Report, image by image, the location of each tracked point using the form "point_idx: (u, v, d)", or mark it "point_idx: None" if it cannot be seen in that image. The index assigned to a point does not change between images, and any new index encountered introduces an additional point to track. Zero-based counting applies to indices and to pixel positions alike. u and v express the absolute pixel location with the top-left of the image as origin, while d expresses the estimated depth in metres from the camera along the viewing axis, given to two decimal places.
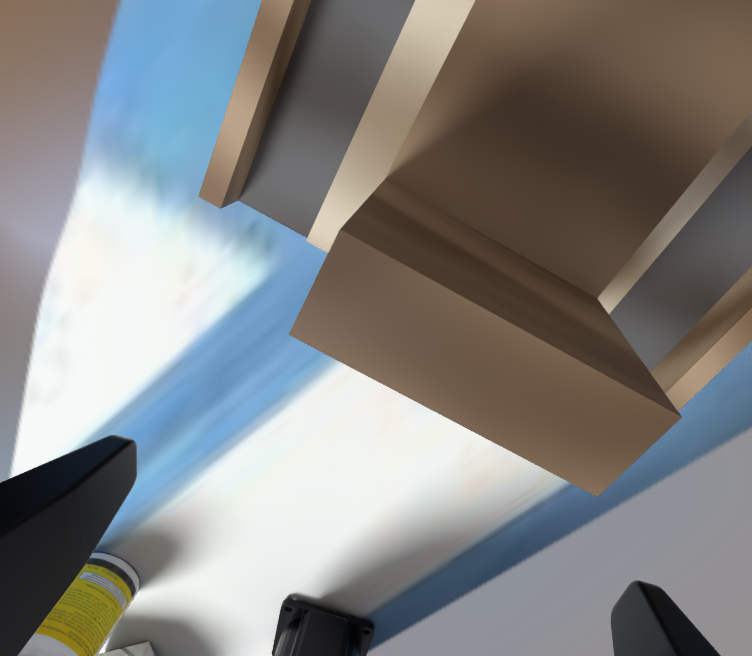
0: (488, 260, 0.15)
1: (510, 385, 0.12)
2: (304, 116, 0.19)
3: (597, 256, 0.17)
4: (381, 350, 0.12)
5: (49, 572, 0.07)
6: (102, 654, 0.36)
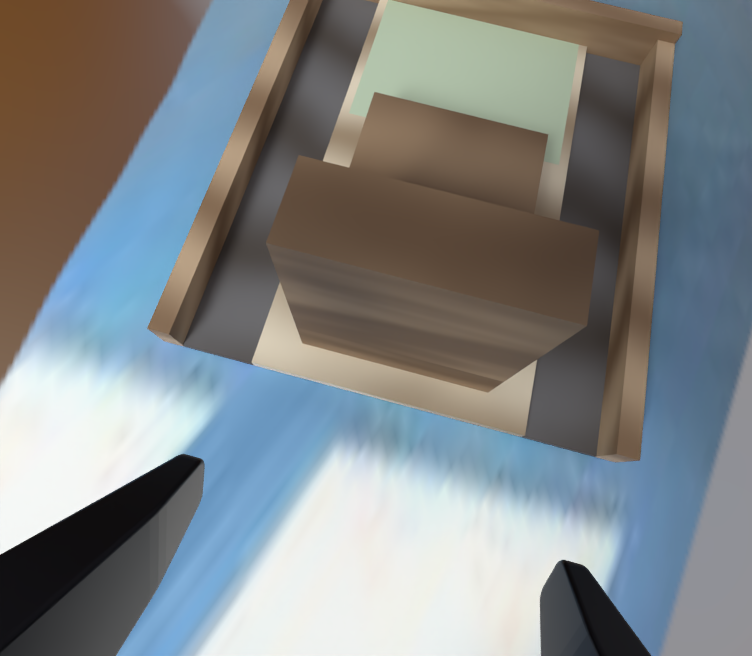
0: None
1: (463, 238, 0.14)
2: (241, 268, 0.24)
3: None
4: (350, 236, 0.13)
5: (131, 596, 0.07)
6: None
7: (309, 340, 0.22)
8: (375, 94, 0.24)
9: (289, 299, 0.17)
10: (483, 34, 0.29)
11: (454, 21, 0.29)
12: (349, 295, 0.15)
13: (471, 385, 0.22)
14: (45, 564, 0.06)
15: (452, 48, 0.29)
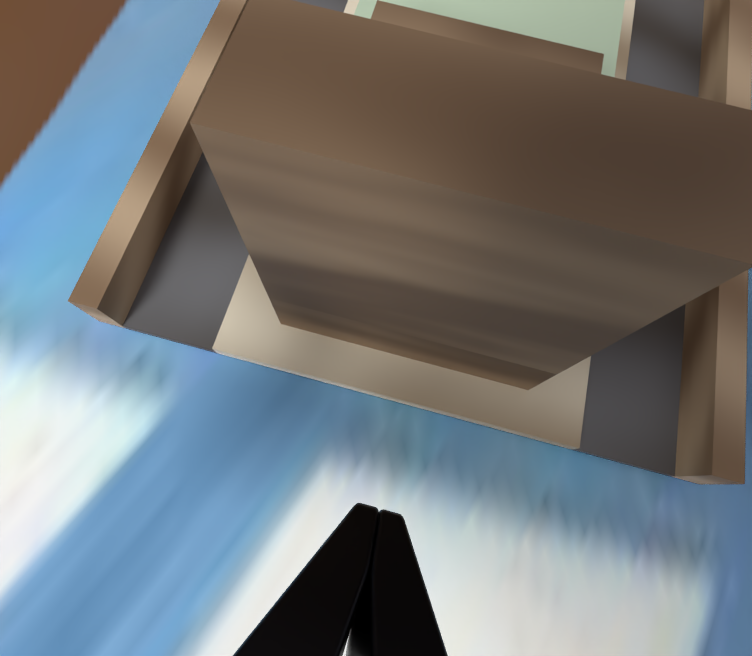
0: None
1: (530, 121, 0.08)
2: (204, 227, 0.19)
3: None
4: (336, 114, 0.08)
5: None
6: None
7: (289, 318, 0.16)
8: (378, 3, 0.19)
9: (251, 247, 0.12)
10: None
11: None
12: (338, 231, 0.10)
13: (507, 380, 0.16)
14: (292, 636, 0.06)
15: None
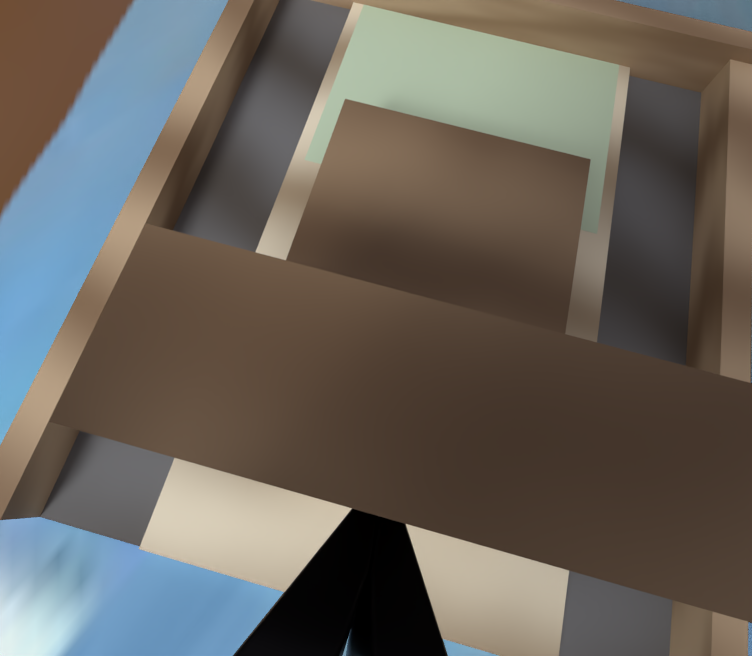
0: None
1: (476, 407, 0.06)
2: None
3: None
4: (234, 403, 0.06)
5: None
6: None
7: None
8: (346, 102, 0.17)
9: None
10: (490, 51, 0.22)
11: (451, 34, 0.22)
12: None
13: None
14: (292, 636, 0.06)
15: (448, 69, 0.21)
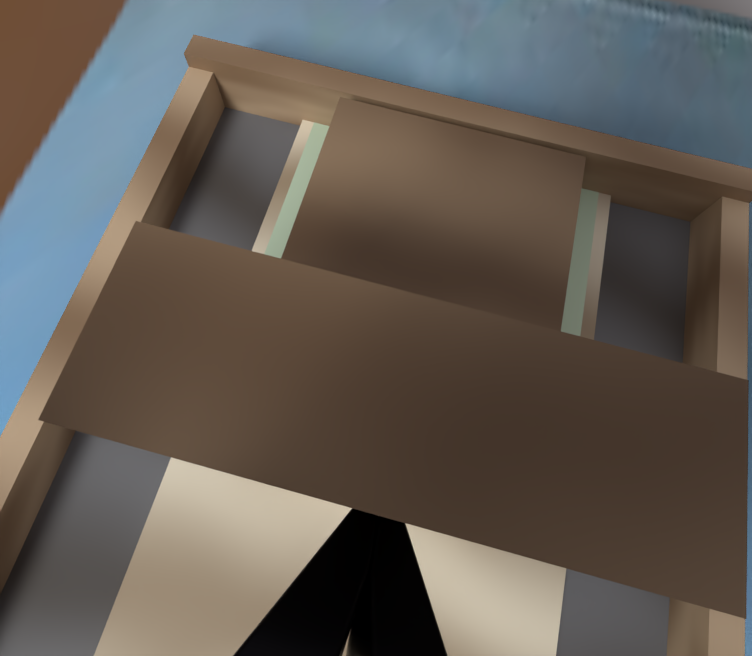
0: None
1: (467, 404, 0.06)
2: (35, 620, 0.14)
3: None
4: (224, 401, 0.06)
5: None
6: None
7: None
8: (341, 100, 0.17)
9: None
10: None
11: None
12: None
13: None
14: (292, 636, 0.06)
15: None
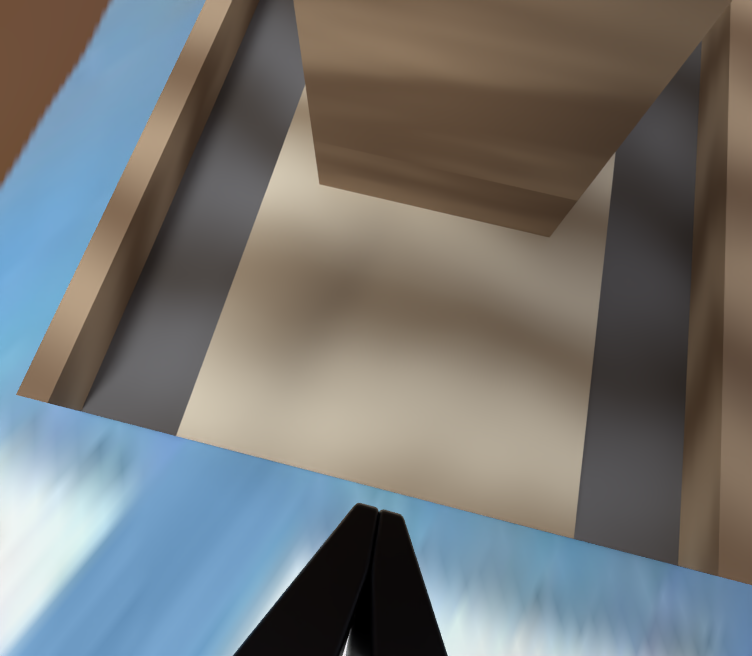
0: None
1: None
2: (168, 297, 0.17)
3: None
4: None
5: None
6: None
7: (328, 172, 0.18)
8: None
9: (306, 58, 0.13)
10: None
11: None
12: (391, 10, 0.11)
13: (530, 225, 0.18)
14: (292, 636, 0.06)
15: None
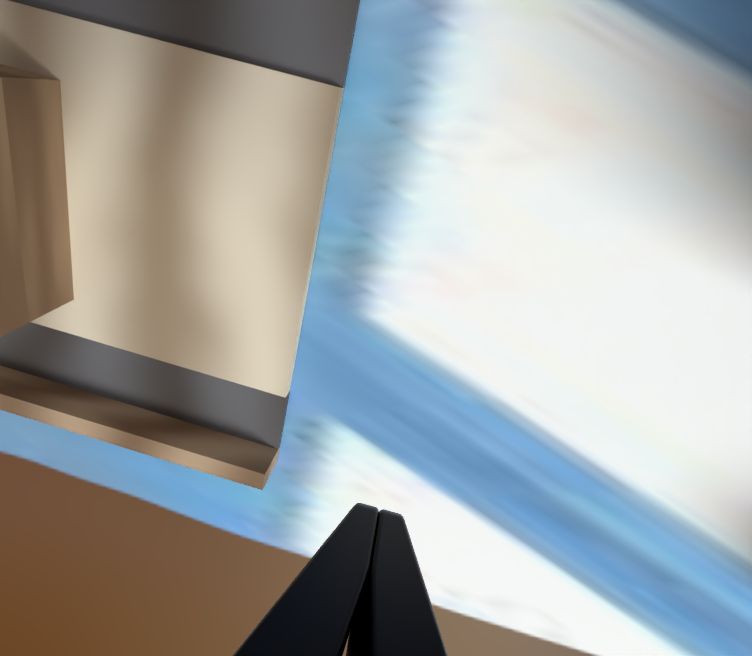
0: None
1: None
2: (193, 402, 0.24)
3: None
4: None
5: None
6: None
7: (57, 298, 0.21)
8: None
9: None
10: None
11: None
12: None
13: (51, 107, 0.18)
14: (292, 636, 0.06)
15: None
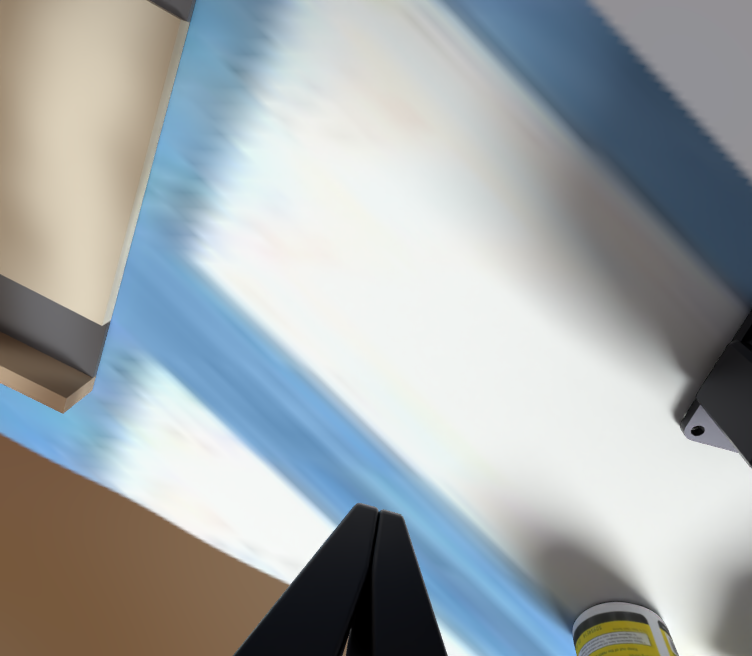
0: None
1: None
2: (9, 312, 0.23)
3: None
4: None
5: None
6: None
7: None
8: None
9: None
10: None
11: None
12: None
13: None
14: (292, 636, 0.06)
15: None
